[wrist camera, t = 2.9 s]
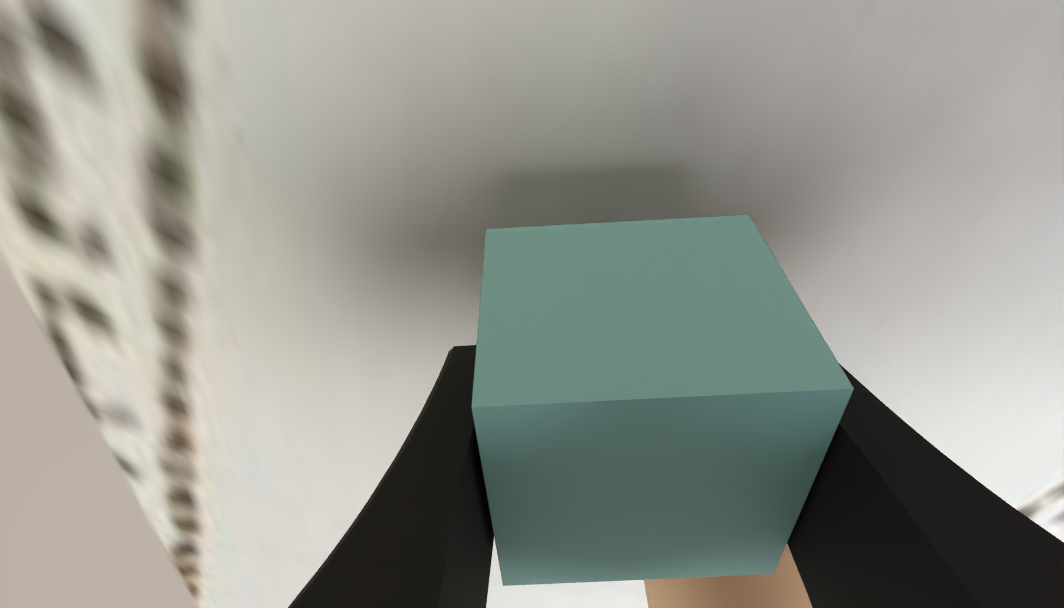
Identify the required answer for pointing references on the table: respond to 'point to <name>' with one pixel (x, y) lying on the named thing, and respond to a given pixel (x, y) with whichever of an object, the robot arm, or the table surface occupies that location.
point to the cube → (646, 400)
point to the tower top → (733, 590)
